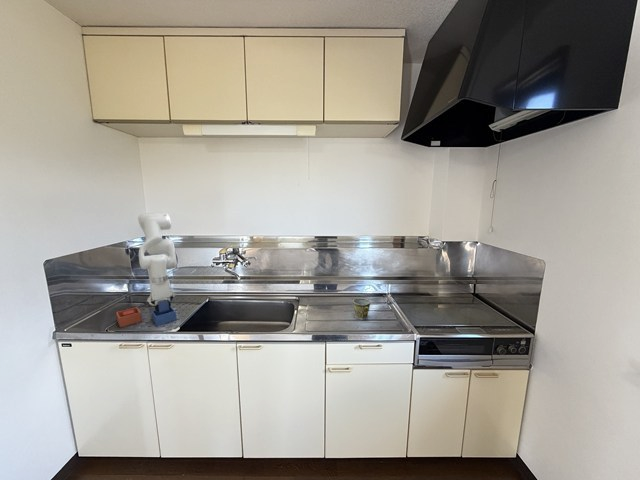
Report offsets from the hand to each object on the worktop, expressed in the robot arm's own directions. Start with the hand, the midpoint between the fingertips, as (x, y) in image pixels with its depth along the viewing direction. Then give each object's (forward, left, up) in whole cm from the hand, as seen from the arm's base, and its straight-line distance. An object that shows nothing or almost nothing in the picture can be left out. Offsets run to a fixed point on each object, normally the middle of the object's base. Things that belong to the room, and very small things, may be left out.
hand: (163, 309), depth 156 cm
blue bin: (0, 0, -7) cm, 7 cm away
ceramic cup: (+78, +85, -7) cm, 115 cm away
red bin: (-12, -15, -7) cm, 20 cm away
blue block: (0, 0, 0) cm, 0 cm away
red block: (-12, -15, -6) cm, 20 cm away
